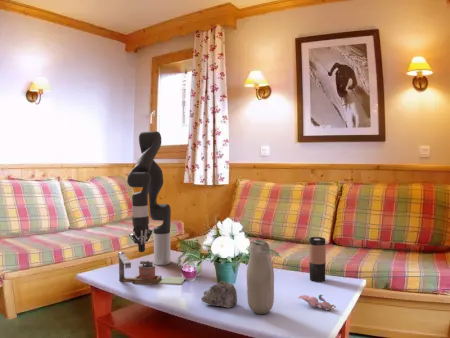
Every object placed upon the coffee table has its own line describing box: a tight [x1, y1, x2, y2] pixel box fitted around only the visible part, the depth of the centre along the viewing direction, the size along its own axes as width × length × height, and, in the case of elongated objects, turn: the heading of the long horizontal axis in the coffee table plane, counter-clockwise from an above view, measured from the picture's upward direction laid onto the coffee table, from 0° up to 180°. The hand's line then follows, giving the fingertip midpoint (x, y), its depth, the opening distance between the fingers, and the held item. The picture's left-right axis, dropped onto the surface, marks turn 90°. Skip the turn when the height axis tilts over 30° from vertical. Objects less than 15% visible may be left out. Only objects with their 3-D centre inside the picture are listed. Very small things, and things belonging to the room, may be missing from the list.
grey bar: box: [117, 251, 132, 270], centre depth 190 cm, size 3×21×3 cm, turn 23°
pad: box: [158, 276, 185, 286], centre depth 196 cm, size 9×11×1 cm
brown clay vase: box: [246, 239, 275, 315], centre depth 156 cm, size 10×10×28 cm
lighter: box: [138, 260, 156, 279], centre depth 196 cm, size 8×3×10 cm, turn 84°
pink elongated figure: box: [297, 294, 336, 312], centre depth 161 cm, size 6×6×15 cm
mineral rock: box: [201, 280, 238, 309], centre depth 165 cm, size 13×11×10 cm
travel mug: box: [308, 236, 327, 283], centre depth 195 cm, size 8×8×20 cm
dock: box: [118, 257, 163, 285], centre depth 197 cm, size 7×20×11 cm, turn 80°
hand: (141, 251), depth 190 cm, fingers closed
